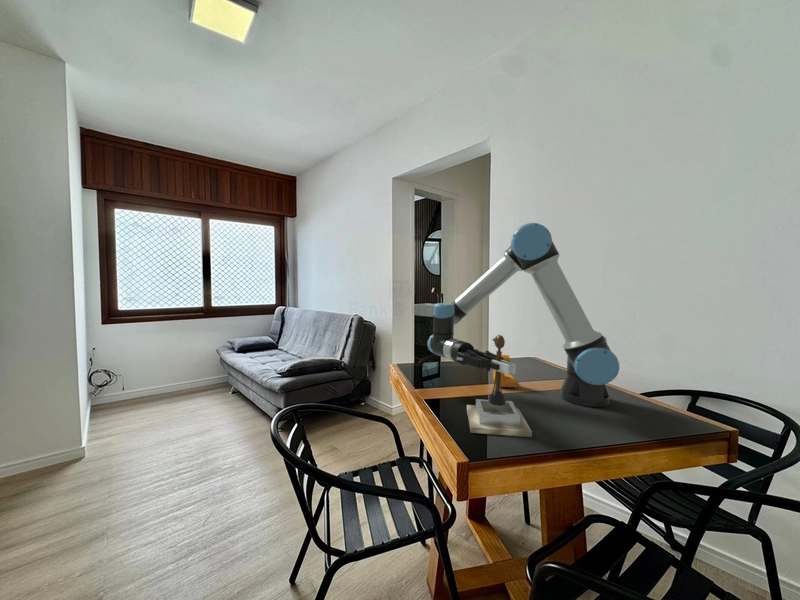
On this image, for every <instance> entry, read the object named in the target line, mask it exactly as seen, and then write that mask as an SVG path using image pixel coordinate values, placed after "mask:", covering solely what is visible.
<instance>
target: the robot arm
mask: <svg viewBox="0 0 800 600" xmlns="http://www.w3.org/2000/svg"><path fill="white" fill-rule="evenodd" d="M556 247H557V246H556V245H555V244H554V242H553V237H552V233H551V231H549V229H548V228H547V227H546V226H544V225H543V224H541V223H537V222H529V223H525V224H523V225H521V226H519V227H518V228H517V229H516V230H515V231H514V233H513V234H512V237H511V239H510V246H509V247H508V248H507V249H506V250H505V251H504V252H503V257H501V258H500V259H499V260H498V261H497V262H495V263H494V264H493V266H491V267H490V268H489V269H488V270H487V271H486V272H484V273H483V274H482V275H480V277H478V279H476V281H475V282H474V281H473V283H472V284H471V285H470V286H468V287H467V289H465V290H464V291H463V292H461V294H460V295H459V296H457V297H456V298H455V299H454V300H452V302H450V303H448V302H444V303H443V302H440V303H439V302H438V303H435V304H434V305H433V312H432V315H433V316H432V317H433V318H432V319H433V321H432V327H433V328H432V335H430V336H429V337H428V339H427V344H426V345H427V349H428V351H430V352H431V353H433V354H434V355H435V356H438V357H442V358H445V359H447V360H450V361H452V363H456V364H460V365H462V366H467V365H468V366H472V367H475V368H477V369H478V368H479V369H481V370H483V369H486V372H490V371H491V370H492V371H493V370H495V371H498V372H501V373H504V374H506V375H516V372H517V371H516V369H517V364H516V363H513V362H511V361H510V362H507V361H504V358H503V357H501V362H499V361H496V354H495V353H493V352H490V350H485V351H481V350H479V349H477V348H476V349H475V348H474V346H473V345H472V343H470V342H466V341H463V340H459V339H457V338H454V330H455V329H454V326H455V325H457V324H459V323H460V322H461V321H462V320H463V319H464V318H465V317H466V316H467V315H468V314H469V313H471V312H472V310H474V309H475V308H476V307H478V306H479V305H480V304H481V303H483V302H484V301H485V300H486V299H487V298H488V297H489V296H491V294H493V293H494V292H495V291H496V290H497V289H498V288H500V287H501V286H502V285H503V284H504V283H506V282H507V281H508V280H509V279H510V278H511V277H513V276H514V275H515V274H517V272H524V273H527V274H530V275H531V276H532V278H533V281H534V283H535V284H536V286H537V288H538V290H539V293H540V294H541V296H542V298H543V300H544V301H545V304H546V306H547V308H548V310H549V311H550V314H551V315H552V318H553V319H554V321H555V323H556V325H557V327H558V329H559V331H560V333H561V335H562V336H563V338H564V340H565V342H564V344H563V346H562V348H563V349H564V351H565V353H566V355H567V361H566V376H565V378H564V380H563V382H562V384H561V387H560V394H559V396H560V397H561V398H562V399H563V400H565V401H566V402H569V403H572V404H575V405H578V406H584V407H591V408H592V407H593V408H603V407H607V406H609V405H610V398H611V397H610V394H609V391H608V387H607V384H609V383H610V382H612V381H614V380H615V379H616V378H617V377H618V374H619V372H620V363H619V359H618V357H617V355H616V354H615V353H614V352H613V351H612V350H611V348H610V346H609V345H608V342H607V337H606V336H604V335H603V334H602V332H600V331H596V330H594V328H593V327H592V325H591V322H590V321H589V319H588V317H587V315H586V314H585V311H584V310H583V307H582V305H581V304H580V301H579V300H578V298H577V296H576V295H575V293H574V291H573V289H572V287H571V285H570V282H569V281H568V279H567V277H566V275H565V274H564V272H563V270H562V268H561V266H560V263H558V261H559V258H560V253H559V251H558V249H557V248H556Z"/></svg>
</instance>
